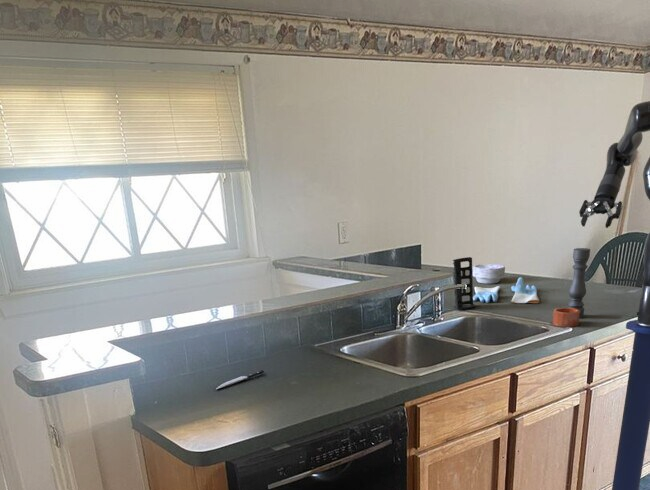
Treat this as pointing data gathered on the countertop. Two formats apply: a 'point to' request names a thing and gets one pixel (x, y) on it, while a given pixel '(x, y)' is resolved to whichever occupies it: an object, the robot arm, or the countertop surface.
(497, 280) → the paper bowls
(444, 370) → the countertop surface
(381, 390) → the countertop surface
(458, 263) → the holder
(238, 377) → the chef's knife
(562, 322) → the holder cup
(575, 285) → the candle holder
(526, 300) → the rubber gloves
